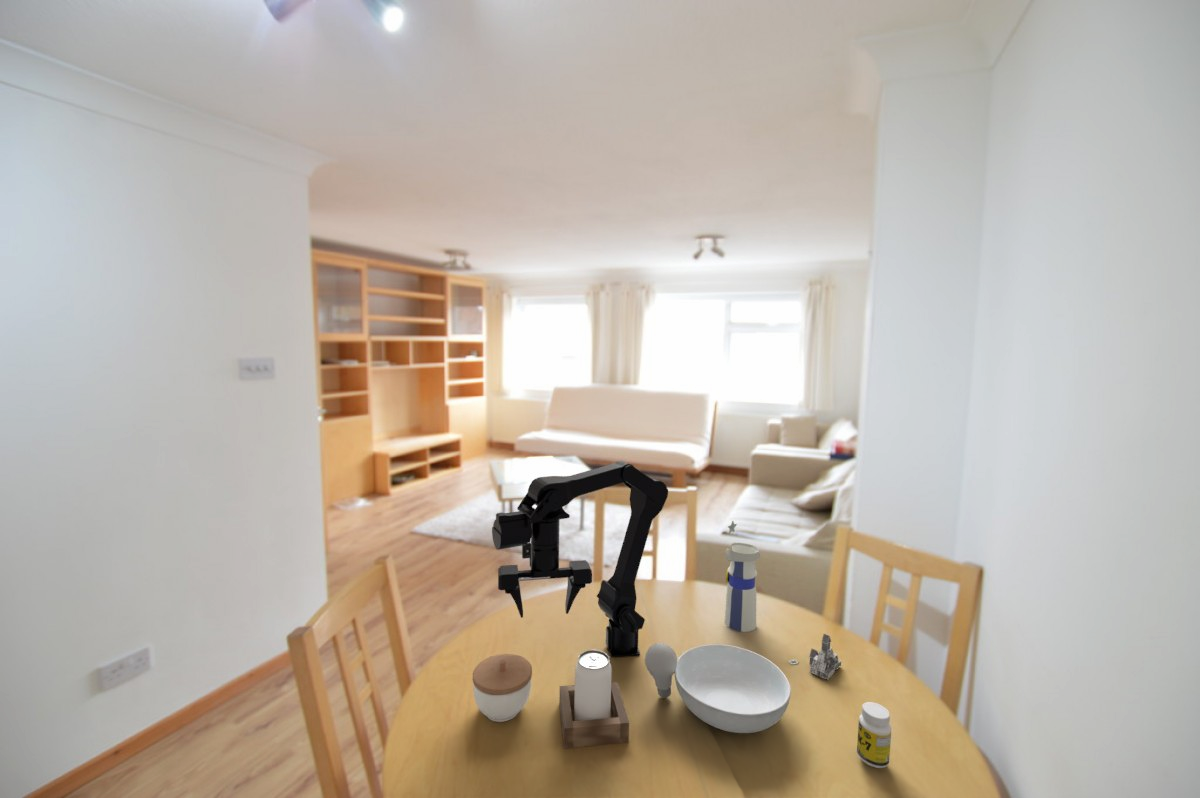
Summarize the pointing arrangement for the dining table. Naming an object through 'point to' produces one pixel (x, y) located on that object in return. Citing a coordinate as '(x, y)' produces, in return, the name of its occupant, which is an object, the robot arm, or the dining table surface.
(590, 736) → the sleeve block
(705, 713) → the serving bowl
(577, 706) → the can
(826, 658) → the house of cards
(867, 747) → the supplement bottle
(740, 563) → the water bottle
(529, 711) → the dining table surface
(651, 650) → the lightbulb
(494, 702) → the lidded jar
